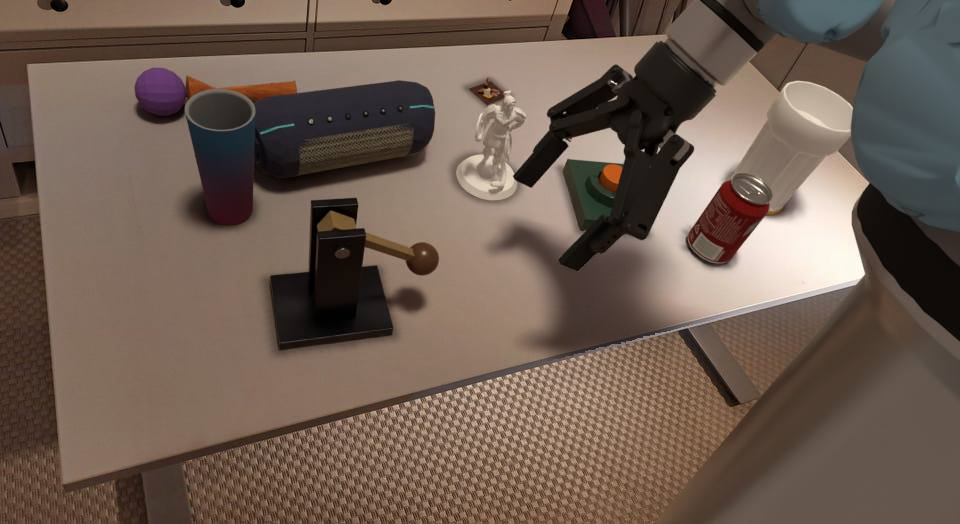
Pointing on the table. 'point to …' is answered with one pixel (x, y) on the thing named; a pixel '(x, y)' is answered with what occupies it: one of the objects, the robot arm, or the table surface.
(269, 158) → the portable speaker
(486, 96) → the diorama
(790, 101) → the cup
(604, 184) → the button
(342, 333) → the switch bracket
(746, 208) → the soda can
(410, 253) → the switch lever
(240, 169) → the cup
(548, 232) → the table surface
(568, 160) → the button box
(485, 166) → the figurine
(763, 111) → the table surface
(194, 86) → the kendama
